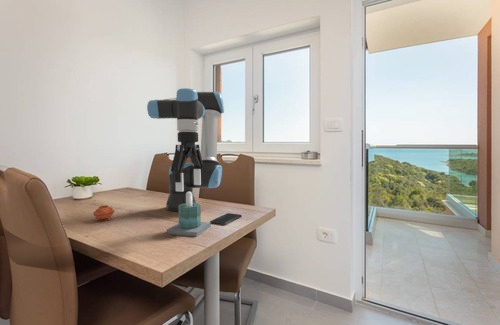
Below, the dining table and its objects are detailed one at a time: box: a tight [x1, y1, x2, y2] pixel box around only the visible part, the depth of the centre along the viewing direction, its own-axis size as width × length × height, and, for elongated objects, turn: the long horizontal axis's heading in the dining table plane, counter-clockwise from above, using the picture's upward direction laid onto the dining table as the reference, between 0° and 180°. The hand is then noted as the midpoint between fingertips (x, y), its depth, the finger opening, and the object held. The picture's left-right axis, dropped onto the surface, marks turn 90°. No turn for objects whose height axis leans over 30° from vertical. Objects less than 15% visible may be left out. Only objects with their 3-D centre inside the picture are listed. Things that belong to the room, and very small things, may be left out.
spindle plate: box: [166, 192, 211, 237], centre depth 94 cm, size 12×12×15 cm
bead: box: [178, 202, 202, 229], centre depth 94 cm, size 8×8×8 cm
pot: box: [93, 205, 115, 222], centre depth 108 cm, size 8×8×7 cm
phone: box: [209, 212, 243, 226], centre depth 108 cm, size 8×1×15 cm
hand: (189, 188), depth 94 cm, fingers open, 13 cm apart
